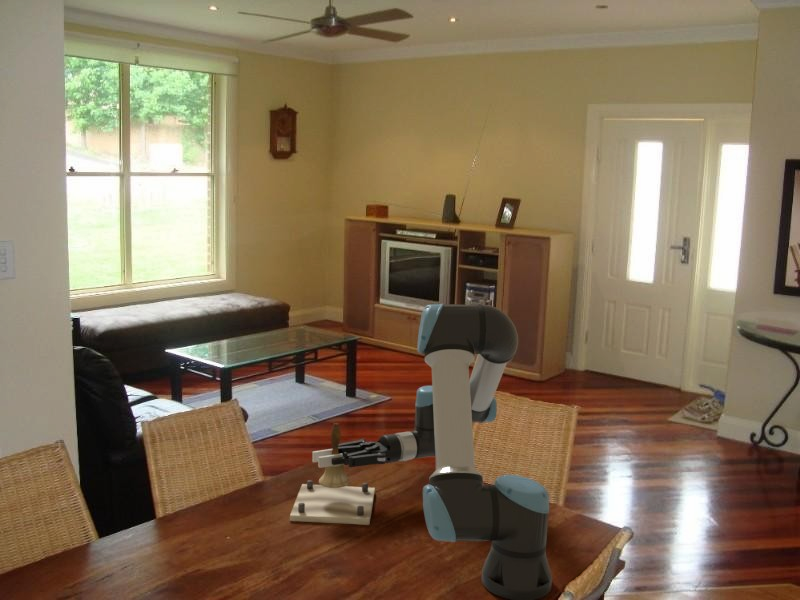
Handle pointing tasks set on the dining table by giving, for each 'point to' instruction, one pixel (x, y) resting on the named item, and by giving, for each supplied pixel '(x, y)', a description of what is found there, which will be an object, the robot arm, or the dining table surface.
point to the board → (333, 504)
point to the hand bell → (335, 474)
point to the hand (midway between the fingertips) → (316, 459)
